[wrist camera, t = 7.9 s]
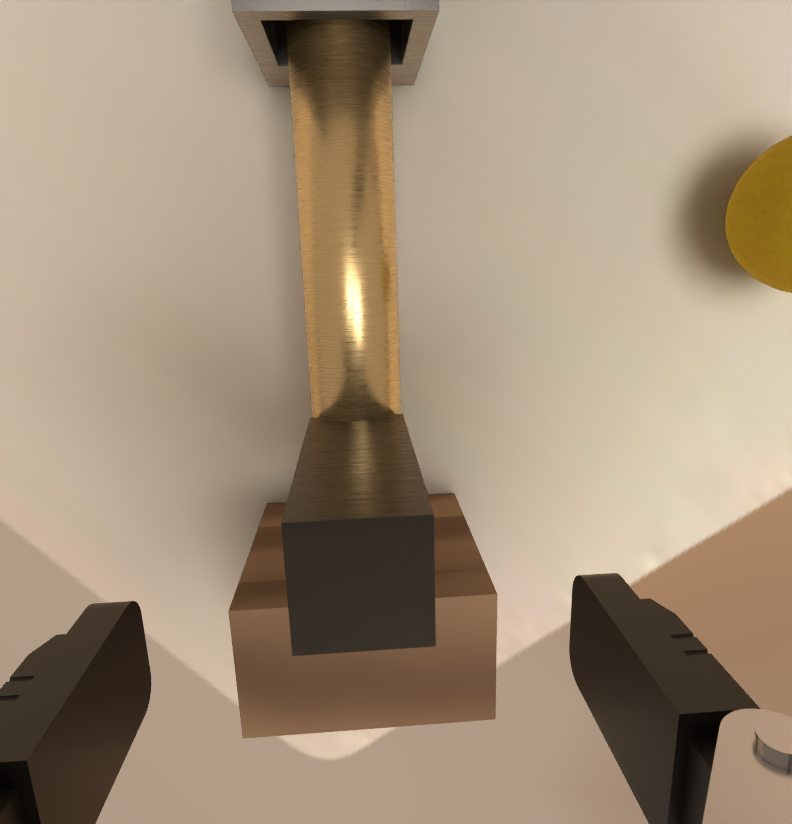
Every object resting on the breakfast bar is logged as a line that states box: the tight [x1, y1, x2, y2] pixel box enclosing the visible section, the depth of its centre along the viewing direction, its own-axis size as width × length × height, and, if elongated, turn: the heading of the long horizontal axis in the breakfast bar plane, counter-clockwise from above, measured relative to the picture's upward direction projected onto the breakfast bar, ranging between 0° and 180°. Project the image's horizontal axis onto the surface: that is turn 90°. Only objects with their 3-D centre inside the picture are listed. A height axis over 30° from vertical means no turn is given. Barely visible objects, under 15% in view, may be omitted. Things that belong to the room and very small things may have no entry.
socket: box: [229, 494, 497, 738], centre depth 22 cm, size 4×8×8 cm, turn 92°
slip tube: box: [281, 19, 436, 656], centre depth 16 cm, size 22×3×10 cm, turn 2°
